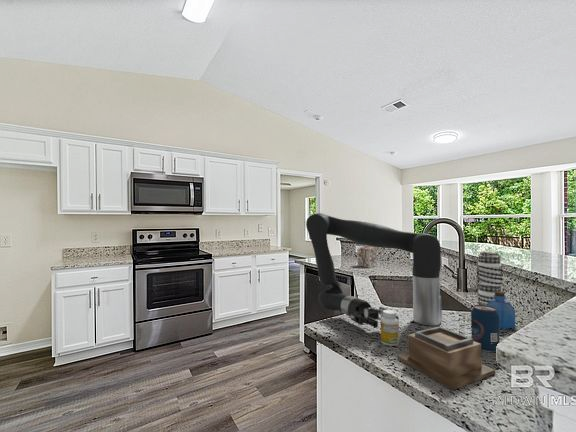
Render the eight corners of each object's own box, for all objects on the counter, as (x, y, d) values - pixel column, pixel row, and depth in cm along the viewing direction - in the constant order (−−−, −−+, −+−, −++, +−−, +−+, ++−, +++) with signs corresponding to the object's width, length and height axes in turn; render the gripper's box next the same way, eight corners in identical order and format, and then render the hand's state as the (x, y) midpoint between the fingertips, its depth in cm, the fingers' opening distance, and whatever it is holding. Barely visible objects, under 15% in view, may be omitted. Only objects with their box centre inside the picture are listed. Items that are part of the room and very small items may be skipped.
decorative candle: (509, 316, 112) (507, 253, 113) (483, 314, 114) (482, 252, 115) (497, 309, 121) (496, 250, 122) (473, 307, 123) (472, 250, 124)
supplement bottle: (384, 337, 93) (384, 307, 93) (401, 342, 89) (401, 311, 89) (378, 343, 89) (377, 311, 89) (395, 348, 85) (395, 315, 85)
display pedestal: (437, 347, 85) (437, 321, 85) (495, 373, 70) (494, 341, 70) (397, 359, 78) (397, 329, 78) (452, 390, 64) (451, 354, 64)
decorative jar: (365, 264, 247) (365, 244, 248) (377, 266, 238) (377, 244, 239) (357, 266, 239) (357, 245, 240) (369, 267, 231) (368, 245, 231)
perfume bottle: (485, 323, 105) (485, 291, 105) (497, 321, 107) (496, 289, 107) (503, 329, 99) (503, 295, 99) (515, 327, 101) (514, 293, 101)
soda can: (466, 343, 88) (465, 304, 88) (487, 342, 88) (486, 303, 89) (483, 353, 81) (482, 311, 81) (506, 352, 82) (505, 310, 82)
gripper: (339, 300, 102) (369, 313, 87) (370, 295, 108) (404, 307, 93) (339, 321, 102) (370, 338, 87) (370, 315, 107) (404, 330, 93)
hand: (387, 322), depth 90 cm, fingers open, 8 cm apart
